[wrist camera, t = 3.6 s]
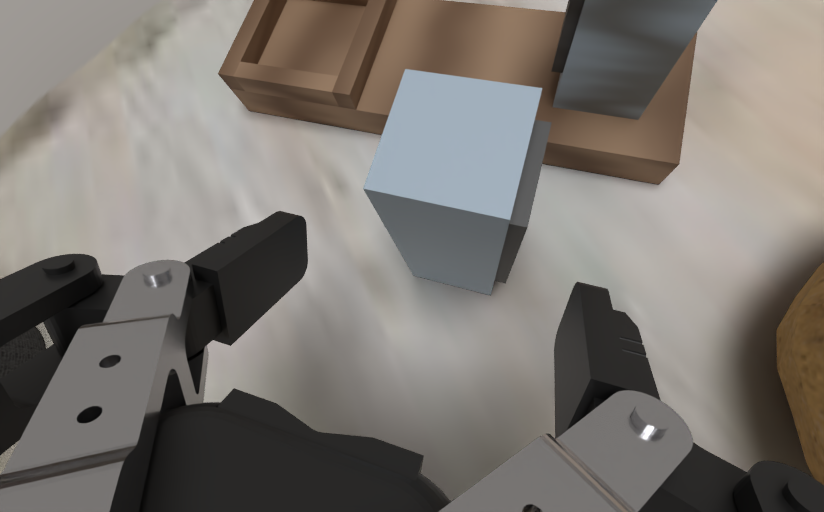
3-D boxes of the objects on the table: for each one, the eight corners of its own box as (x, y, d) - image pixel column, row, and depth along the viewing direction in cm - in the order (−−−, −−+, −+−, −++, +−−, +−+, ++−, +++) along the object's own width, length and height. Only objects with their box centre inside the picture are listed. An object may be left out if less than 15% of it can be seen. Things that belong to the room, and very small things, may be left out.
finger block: (518, 224, 20) (561, 90, 11) (500, 298, 19) (530, 224, 10) (434, 205, 21) (405, 68, 12) (413, 275, 20) (363, 188, 11)
